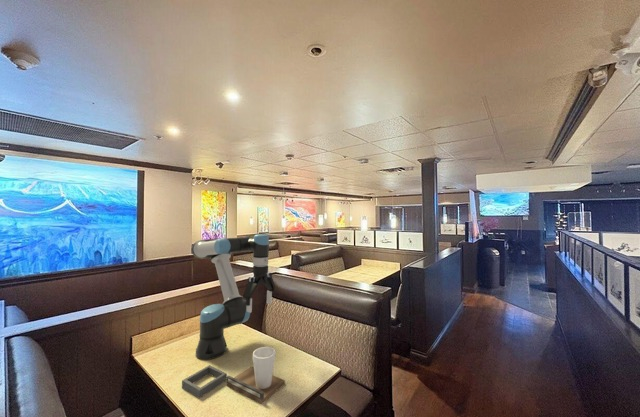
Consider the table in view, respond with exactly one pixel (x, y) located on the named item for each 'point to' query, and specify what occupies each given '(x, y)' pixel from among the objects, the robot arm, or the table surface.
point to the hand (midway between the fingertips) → (259, 307)
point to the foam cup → (263, 366)
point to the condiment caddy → (200, 392)
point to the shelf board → (253, 385)
